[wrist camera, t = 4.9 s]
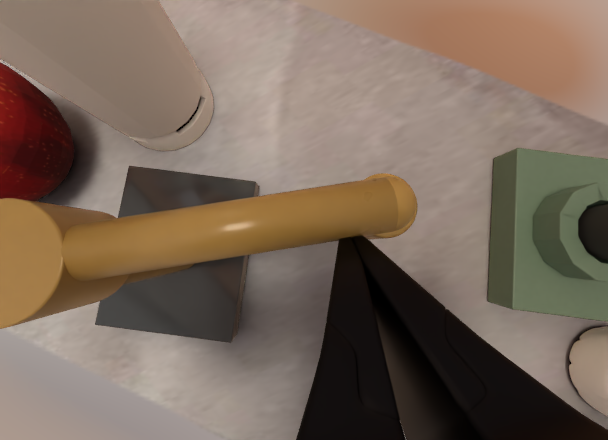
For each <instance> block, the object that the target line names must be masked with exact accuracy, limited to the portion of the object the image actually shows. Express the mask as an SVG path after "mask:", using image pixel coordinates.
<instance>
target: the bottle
mask: <svg viewBox="0 0 608 440" xmlns="http://www.w3.org/2000/svg"><path fill="white" fill-rule="evenodd" d="M0 59H2V60H4V61H5V62H7V63H9V64H10V65H12V66H13V67H15V68H17V69H18V70H20V71H22V72H23V73H25V74H27V75H28V76H30V77H31V78H33V79H35V80H36V81H38V82H40V83H41V84H43V85H45V86H46V87H48V88H49V89H51V90H53V91H54V92H56V93H58V94H59V95H61V96H62V97H64V98H66V99H67V100H69V101H71V102H72V103H74V104H76V105H77V106H79V107H80V108H82V109H84V110H85V111H87V112H89V113H90V114H92V115H94V116H95V117H97V118H98V119H100V120H102V121H103V122H105V123H107V124H108V125H110V126H112V127H113V128H115V129H116V130H118V131H120V132H121V133H123V134H125V135H126V136H128V137H130V138H131V139H133V140H134V141H136V142H138V143H139V144H141V145H143V146H144V147H146V148H149V149H154V150H158V151H170V150H177V149H180V148H182V147H185V146H187V145H190V144H191V143H192V142H194V141H195V140H196V139H198V138H199V137H200V136H201V135H202V134H203V132H204V131H205V130H206V128H207V127H208V125H209V124H210V121H211V117H212V114H213V111H214V107H213V95H212V93H211V90H210V87H209V85H208V83H207V81H206V80H205V78H204V76H203V75H202V73H201V71H200V70H199V69H198V68H197V66H196V64H195V62H194V59H193V58H192V56H191V54H190V53H189V51H188V49H187V48H186V46H185V44H184V43H183V41H182V39H181V38H180V36H179V34H178V32H177V31H176V29H175V27H174V26H173V24H172V22H171V21H170V19H169V17H168V16H167V14H166V12H165V11H164V9H163V7H162V6H161V4H160V2H159V0H0ZM200 96H201V101H200V104H199V107H198V111H197V112H196V114H195V115H194V117H193V118H192V120H191V121H190V122H189V123H188V124H187V125H186V126H185V127H183V128H182V129H181V130H179V131H178V132H176V130H177V129H178V128H180V127H181V126H182V125H183V124H185V123H186V122H187V121H188V120H189V119H190V117H191V116H192V114H193V113H194V111H195V110H196V108H197V106H198V102H199V99H200Z"/></svg>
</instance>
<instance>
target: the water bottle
mask: <svg viewBox="0 0 608 440" xmlns="http://www.w3.org/2000/svg"><path fill="white" fill-rule="evenodd" d="M569 359H570V361H571V363H572V364H570V365H569V372H570V377H571V380H572V382H573V384H574V386H575V387H576V388H577V389H578V393H579V394H580V396H581V397H582V398H583V399H584V400H585V401H586V402H587V403H588V404H589V405H590V406H592V407H593V408H595V409H596V410H598V411H599V412H601V413H603V414H604V415H606V416H608V327H601V328H593V329H590V330H588V331H586V332H585V333H583V334H582V335H581V336H580V340H579V341H576V342H575V343H574V345H573V346H572V349H571V352H570V356H569Z"/></svg>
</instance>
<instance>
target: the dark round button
mask: <svg viewBox="0 0 608 440" xmlns="http://www.w3.org/2000/svg"><path fill="white" fill-rule="evenodd" d="M578 237H579V239H580V241H581V242H582V244H583V246H584V248H585V250H586V251H587V252H588V253H589V254H591V255H592V256H594V257H597V258H600V259H605V260H608V204H607V205H599V206H593V207H590V208H588V209H586V210H585V211H584V212H583V213H582V215H581V216H580V218H579V219H578Z"/></svg>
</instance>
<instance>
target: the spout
mask: <svg viewBox="0 0 608 440" xmlns="http://www.w3.org/2000/svg"><path fill="white" fill-rule="evenodd" d="M416 214H417V200H416V196H415V194H414V192H413V190H412V188H411V187H410V186H409V185H408V184H407V183H406V182H405V181H404V180H403V179H401V178H399V177H397V176H395V175H391V174H376V175H372V176H370V177H368V178H366V179H365V180H361V181H355V182H348V183H342V184H335V185H329V186H322V187H316V188H309V189H303V190H296V191H290V192H283V193H277V194H270V195H264V196H257V197H250V198H244V199H237V200H231V201H224V202H218V203H211V204H205V205H198V206H192V207H185V208H179V209H172V210H166V211H159V212H153V213H146V214H140V215H133V216H127V217H120V218H115V217H114V216H112V215H110V214H107V213H104V212H99V211H93V210H86V209H80V208H73V207H67V206H61V205H54V204H48V203H41V202H35V201H28V200H22V199H15V198H4V199H0V329H2V328H6V327H11V326H14V325H18V324H21V323H25V322H28V321H32V320H35V319H39V318H42V317H46V316H49V315H53V314H56V313H60V312H63V311H67V310H70V309H74V308H77V307H81V306H84V305H88V304H91V303H95V302H98V301H101V300H103V299H105V298H107V297H109V296H110V295H112V294H113V293H115V292H116V291H117V290H118V289H119V288H120V287H121V286H122V285H123V284H124V282H125V281H126V280H127V278H128V276H129V274H132V273H138V272H144V271H150V270H157V269H163V268H169V267H176V266H182V265H188V264H194V263H201V262H207V261H213V260H219V259H226V258H232V257H238V256H245V255H251V254H257V253H263V252H270V251H276V250H282V249H288V248H295V247H301V246H307V245H314V244H320V243H326V242H332V241H339V239H340V238H346V237H351V238H352V237H354V236H361V235H363V236H364V237H366V238H367V239H381V238H392V237H396V236H399V235H401V234H402V233H404V232H405V231H407V230H408V229H409V228H410V226H411V225H412V223H413V222H414V220H415V217H416Z"/></svg>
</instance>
